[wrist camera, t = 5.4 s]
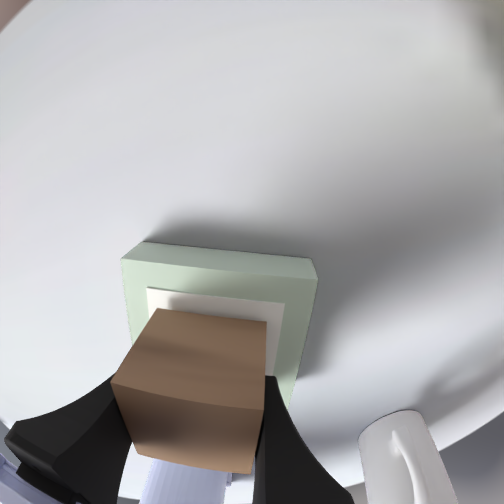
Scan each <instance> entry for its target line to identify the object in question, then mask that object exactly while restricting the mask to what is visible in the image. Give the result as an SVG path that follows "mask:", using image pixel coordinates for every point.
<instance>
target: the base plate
mask: <svg viewBox="0 0 504 504" xmlns="http://www.w3.org/2000/svg"><path fill="white" fill-rule="evenodd" d="M121 268H122V277H123V286H124V295H125V302H126V309H127V316H128V323H129V329H130V335H131V340H132V346H133V344H134V343H135V341H136V339H137V338H138V336H139V335H140V333H141V332H142V330H143V329H144V327H145V325H146V324H147V322H148V321H149V319H150V318H151V316H152V315H153V313H154V312H155V310H156V309H157V308H162V309H169V310H175V311H182V312H189V313H196V314H204V315H212V316H220V317H228V318H237V319H246V320H256V321H266V322H267V333H266V365H265V375H268V376H275V377H276V378H277V382H278V386H279V389H280V393H281V396H282V398H283V401H284V404H285V406H286V409H287V410H288V406H289V403H290V399H291V396H292V392H293V388H294V385H295V381H296V377H297V373H298V369H299V365H300V361H301V357H302V353H303V349H304V345H305V340H306V336H307V332H308V327H309V323H310V318H311V314H312V309H313V304H314V299H315V294H316V289H317V284H318V277H317V274H316V271H315V268H314V266H313V263H312V260H311V259H310V258H300V257H290V256H280V255H270V254H260V253H250V252H239V251H229V250H219V249H209V248H199V247H189V246H179V245H169V244H159V243H149V242H140V243H139V244H138V245H137V246H135V247H134V248H133V249H132V250H130V251H129V252H128V253H127V254H126V255H124V256H123V257H122V258H121Z"/></svg>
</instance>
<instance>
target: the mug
mask: <svg viewBox="0 0 504 504" xmlns="http://www.w3.org/2000/svg"><path fill="white" fill-rule="evenodd" d="M358 444H359V450H360V456H361V462H362V468H363V474H364V479H365V485H366V492H367V498H368V504H458V501H457V498H456V495H455V492H454V490H453V487H452V485H451V482H450V480H449V477H448V475H447V472H446V470H445V467H444V464H443V462H442V460H441V457H440V455H439V452H438V450H437V448H436V445H435V443H434V441H433V438H432V436H431V434H430V432H429V430H428V428H427V426H426V424H425V422H424V420H423V417H422V416H421V414H420V413H419V412H417V411H413V410H405V411H399V412H395V413H392V414H389V415H387V416H385V417H382V418H380V419H379V420H377V421H375V422H374V423H372V424H371V425H369V426H368V427H367V428H366V429H365V430H364V431H363V432H362V433H361V435H360V437H359V440H358Z"/></svg>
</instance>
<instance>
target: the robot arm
mask: <svg viewBox="0 0 504 504" xmlns="http://www.w3.org/2000/svg"><path fill="white" fill-rule="evenodd" d="M114 375H115V373H114V374H113V375H112V376H111V377H109V378H108V379H107V380H106V381H104V382H103V383H102V384H100V385H99V386H98V387H96V388H95V389H93V390H92V391H91V392H89V393H88V394H86V395H84V396H83V397H81V398H80V399H78V400H76V401H74V402H72V403H70V404H68V405H66V406H64V407H62V408H60V409H57V410H55V411H53V412H50V413H47V414H44V415H41V416H38V417H34V418H30V419H25V420H21V421H16V422H15V424H14V425H13V426H12V428H11V429H10V431H9V433H8V434H7V435H6V437H5V438H4V441H5V444H6V445H7V446H8V448H9V449H10V450H11V451H12V452H13V453H14V455H15V456H16V457H17V458H18V459H19V460H20V461H21V464H20V466H19V468H18V467H16V466H15V465H13V464H12V463H11V462H9V461H8V460H7V459H6V458H5V457H4V456H3V455H2V454H1V453H0V504H117V497H118V492H119V487H120V482H121V478H122V474H123V470H124V466H125V462H126V459H127V455H128V452H129V449H130V446H131V444H132V439H131V437H130V435H129V432H128V430H127V427H126V425H125V422H124V420H123V417H122V414H121V412H120V409H119V406H118V404H117V401H116V398H115V395H114V392H113V389H112V386H111V383H110V382H111V380H112V378H113V377H114ZM231 481H232V473H231V472H223V471H216V470H209V469H203V468H197V467H191V466H186V465H181V464H176V463H172V462H167V461H163V460H159V459H155V458H154V460H153V463H152V466H151V469H150V472H149V475H148V478H147V481H146V484H145V487H144V490H143V493H142V496H141V500H140V503H139V504H224V497H225V489H226V486H227V487H228V486H231ZM252 504H354V501H353V499H352V496H351V494H350V493H349V492H348V491H347V490H346V489H344V488H343V487H342V486H341V485H340V484H339V483H338V482H337V481H336V480H335V479H334V478H333V477H332V476H331V475H330V474H329V473H328V472H327V471H326V470H325V469H324V468H323V466H322V465H321V464H320V463H319V462H318V461H317V459H316V458H315V457H314V456H313V454H312V453H311V451H310V450H309V449H308V447H307V446H306V444H305V443H304V441H303V440H302V438H301V436H300V435H299V433H298V431H297V429H296V427H295V425H294V424H293V422H292V420H291V418H290V415H289V413H288V411H287V409H286V406H285V404H284V401H283V398H282V396H281V393H280V389H279V386H278V382H277V378H276V377H275V376H268V375H265V393H264V412H263V417H262V422H261V427H260V432H259V437H258V441H257V446H256V451H255V481H254V492H253V503H252Z"/></svg>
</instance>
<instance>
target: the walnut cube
mask: <svg viewBox="0 0 504 504" xmlns="http://www.w3.org/2000/svg"><path fill="white" fill-rule="evenodd" d="M266 333H267V322H266V321H256V320H246V319H237V318H228V317H220V316H212V315H204V314H196V313H189V312H182V311H175V310H169V309H162V308H157V309H156V310H155V312H154V313H153V315H152V316H151V318H150V319H149V321H148V322H147V324H146V325H145V327H144V329H143V330H142V332H141V333H140V335H139V336H138V338H137V339H136V341H135V343H134V344H133V346H132V347H131V349H130V351H129V352H128V354H127V355H126V357H125V359H124V360H123V362H122V363H121V365H120V367H119V368H118V370H117V372H116V373H115V375H114V377H113V378H112V380H111V382H110V383H111V386H112V389H113V392H114V395H115V398H116V401H117V404H118V406H119V409H120V412H121V414H122V417H123V420H124V422H125V425H126V427H127V430H128V432H129V435H130V437H131V439H132V442H133V444H134V446H135V449H136V451H137V453H138V454H140V455H144V456H147V457H151V458H155V459H159V460H163V461H167V462H172V463H176V464H181V465H186V466H191V467H197V468H203V469H209V470H216V471H223V472H231V473H241V474H251V470H252V465H253V460H254V456H255V451H256V446H257V441H258V437H259V432H260V427H261V422H262V417H263V412H264V393H265V365H266Z"/></svg>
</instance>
